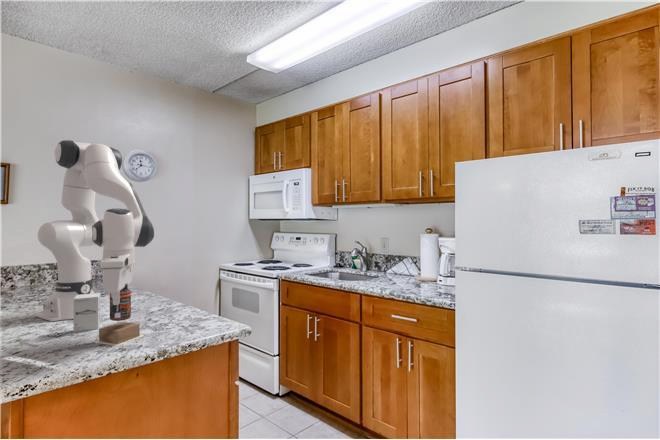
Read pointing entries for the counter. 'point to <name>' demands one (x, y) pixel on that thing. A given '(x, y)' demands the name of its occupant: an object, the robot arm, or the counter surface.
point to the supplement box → (86, 312)
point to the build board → (118, 344)
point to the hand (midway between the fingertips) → (119, 301)
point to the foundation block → (119, 332)
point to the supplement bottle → (121, 306)
